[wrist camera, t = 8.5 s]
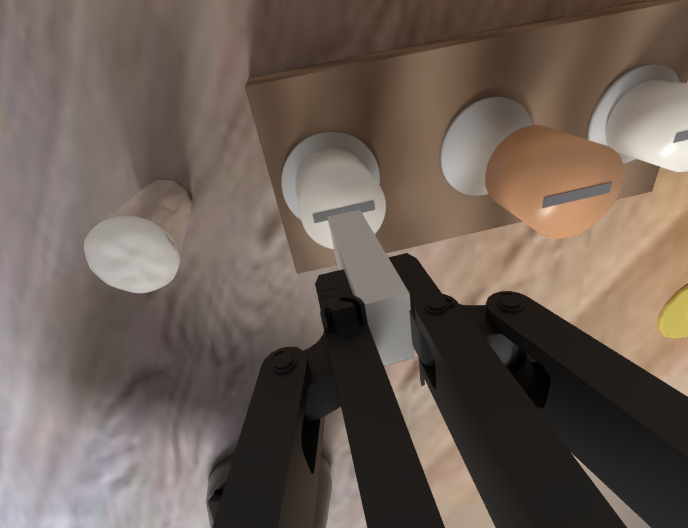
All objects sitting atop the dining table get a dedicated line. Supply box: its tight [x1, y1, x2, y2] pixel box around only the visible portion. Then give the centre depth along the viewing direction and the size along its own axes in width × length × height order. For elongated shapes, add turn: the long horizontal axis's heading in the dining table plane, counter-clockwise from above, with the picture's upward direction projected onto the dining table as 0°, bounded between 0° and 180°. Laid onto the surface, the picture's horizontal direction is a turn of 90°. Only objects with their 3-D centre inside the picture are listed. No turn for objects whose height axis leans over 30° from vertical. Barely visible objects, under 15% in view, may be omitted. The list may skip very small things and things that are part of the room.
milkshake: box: [84, 179, 192, 293], centre depth 22 cm, size 4×5×10 cm
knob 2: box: [606, 80, 688, 172], centre depth 22 cm, size 4×4×4 cm
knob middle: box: [485, 125, 624, 239], centre depth 18 cm, size 4×4×4 cm
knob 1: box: [296, 148, 386, 249], centre depth 20 cm, size 4×4×4 cm
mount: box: [245, 0, 688, 274], centre depth 25 cm, size 27×12×5 cm, turn 99°
